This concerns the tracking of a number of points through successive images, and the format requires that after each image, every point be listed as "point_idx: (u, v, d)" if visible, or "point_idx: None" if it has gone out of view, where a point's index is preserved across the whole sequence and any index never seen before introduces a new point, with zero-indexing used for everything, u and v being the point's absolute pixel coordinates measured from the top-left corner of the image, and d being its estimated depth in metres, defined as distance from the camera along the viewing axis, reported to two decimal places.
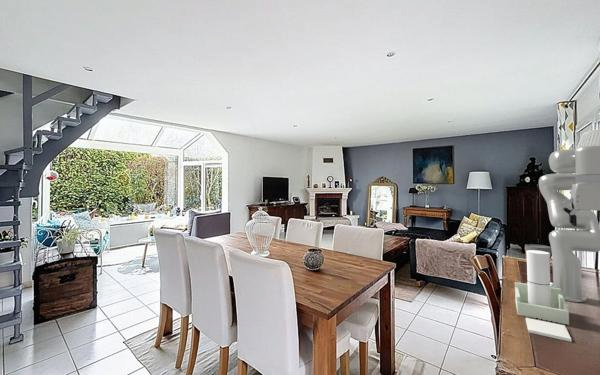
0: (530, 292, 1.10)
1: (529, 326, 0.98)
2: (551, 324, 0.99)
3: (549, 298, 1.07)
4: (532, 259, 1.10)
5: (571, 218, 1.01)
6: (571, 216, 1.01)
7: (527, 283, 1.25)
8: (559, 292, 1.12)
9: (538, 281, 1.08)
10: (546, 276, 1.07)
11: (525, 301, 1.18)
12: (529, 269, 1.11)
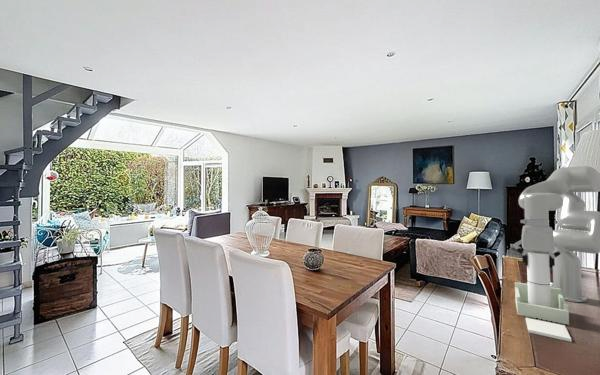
0: (530, 292, 1.10)
1: (529, 326, 0.98)
2: (551, 324, 0.99)
3: (549, 298, 1.07)
4: (532, 259, 1.10)
5: None
6: None
7: (527, 283, 1.25)
8: (559, 292, 1.12)
9: (538, 281, 1.08)
10: (546, 276, 1.07)
11: (525, 301, 1.18)
12: (529, 269, 1.11)
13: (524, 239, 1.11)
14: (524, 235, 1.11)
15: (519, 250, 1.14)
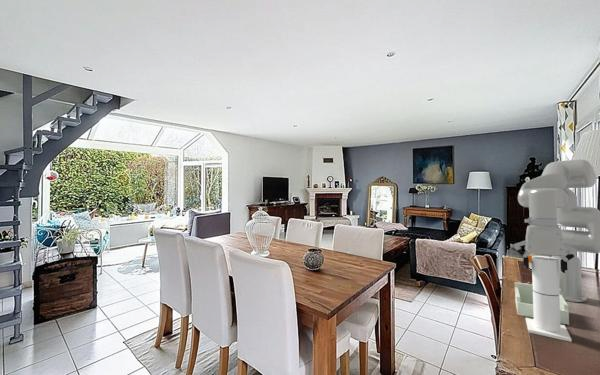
0: (536, 304, 0.97)
1: (529, 326, 0.98)
2: None
3: (558, 311, 0.94)
4: (538, 266, 0.96)
5: None
6: None
7: (527, 283, 1.25)
8: (559, 292, 1.12)
9: (545, 291, 0.95)
10: (555, 286, 0.94)
11: (525, 301, 1.18)
12: (535, 277, 0.97)
13: (529, 241, 0.98)
14: (529, 236, 0.98)
15: (520, 251, 1.00)
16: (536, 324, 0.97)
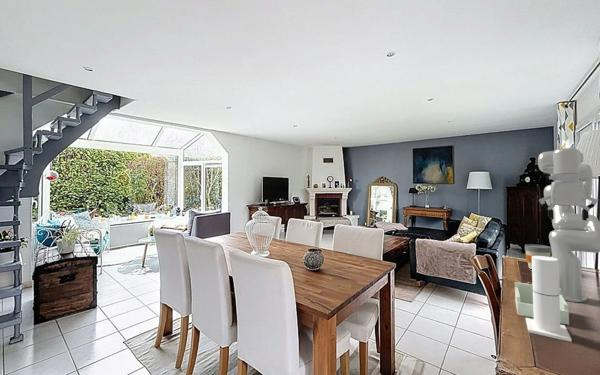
0: (536, 304, 0.97)
1: (529, 326, 0.98)
2: None
3: (558, 311, 0.94)
4: (538, 266, 0.96)
5: None
6: None
7: (527, 283, 1.25)
8: (559, 292, 1.12)
9: (545, 292, 0.95)
10: (555, 286, 0.94)
11: (525, 301, 1.18)
12: (535, 278, 0.97)
13: (553, 194, 1.11)
14: (553, 190, 1.11)
15: (545, 205, 1.14)
16: (536, 324, 0.97)
